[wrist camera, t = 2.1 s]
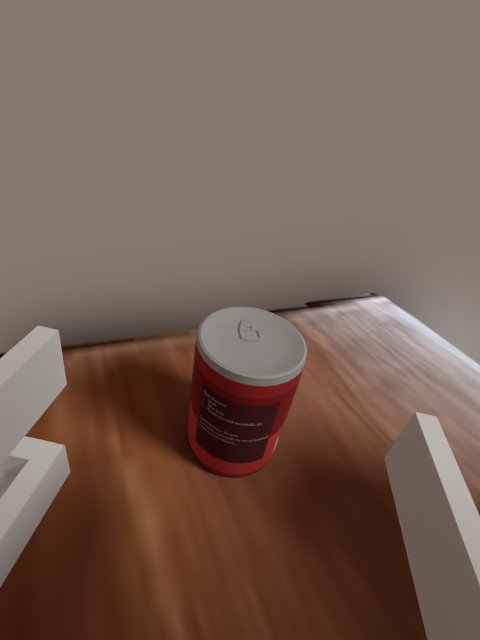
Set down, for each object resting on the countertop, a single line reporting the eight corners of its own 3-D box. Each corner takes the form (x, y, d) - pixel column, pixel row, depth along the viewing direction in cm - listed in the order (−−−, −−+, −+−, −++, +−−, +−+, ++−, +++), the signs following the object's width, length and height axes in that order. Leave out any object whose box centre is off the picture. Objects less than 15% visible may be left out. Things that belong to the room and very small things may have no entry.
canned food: (248, 393, 34) (271, 300, 28) (292, 462, 29) (332, 364, 23) (173, 414, 31) (180, 312, 25) (207, 496, 25) (226, 391, 19)
